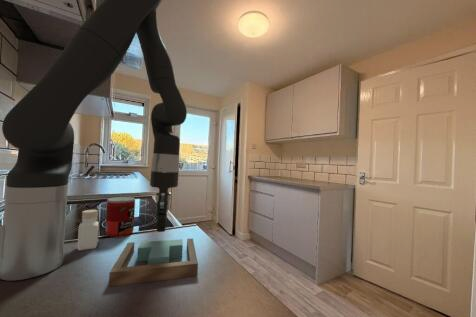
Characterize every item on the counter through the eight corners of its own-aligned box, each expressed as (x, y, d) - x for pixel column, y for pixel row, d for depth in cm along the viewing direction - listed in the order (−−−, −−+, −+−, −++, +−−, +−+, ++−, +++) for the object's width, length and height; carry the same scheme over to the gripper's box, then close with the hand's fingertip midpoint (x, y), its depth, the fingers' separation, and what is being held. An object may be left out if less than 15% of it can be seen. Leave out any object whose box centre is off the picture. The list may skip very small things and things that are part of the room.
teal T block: (131, 274, 41) (132, 259, 41) (140, 254, 51) (141, 242, 51) (182, 269, 44) (183, 255, 44) (181, 250, 54) (182, 239, 54)
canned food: (121, 239, 60) (123, 201, 60) (98, 236, 61) (100, 199, 62) (138, 231, 67) (140, 197, 68) (118, 228, 69) (120, 196, 69)
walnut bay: (108, 286, 37) (109, 272, 37) (127, 252, 51) (127, 242, 51) (197, 275, 42) (197, 263, 42) (192, 247, 56) (192, 238, 56)
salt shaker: (97, 243, 56) (99, 208, 56) (96, 249, 53) (98, 212, 53) (79, 245, 54) (81, 209, 54) (76, 251, 51) (79, 213, 51)
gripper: (153, 168, 64) (149, 224, 63) (148, 170, 51) (143, 240, 51) (178, 170, 66) (174, 223, 65) (179, 171, 54) (174, 238, 53)
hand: (160, 230), depth 58 cm, fingers closed
